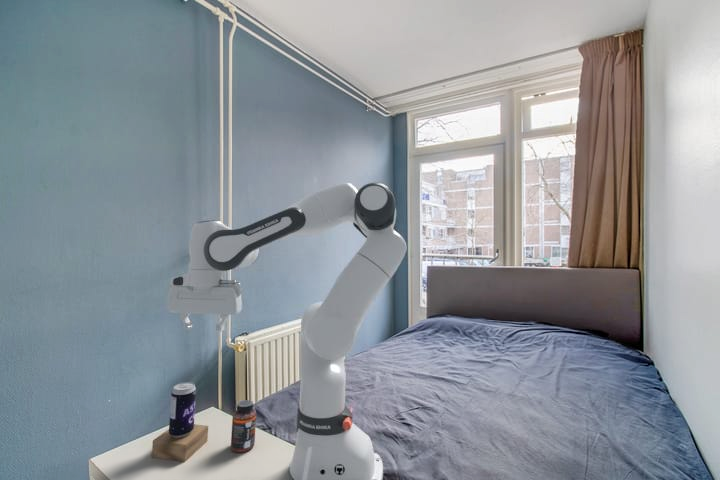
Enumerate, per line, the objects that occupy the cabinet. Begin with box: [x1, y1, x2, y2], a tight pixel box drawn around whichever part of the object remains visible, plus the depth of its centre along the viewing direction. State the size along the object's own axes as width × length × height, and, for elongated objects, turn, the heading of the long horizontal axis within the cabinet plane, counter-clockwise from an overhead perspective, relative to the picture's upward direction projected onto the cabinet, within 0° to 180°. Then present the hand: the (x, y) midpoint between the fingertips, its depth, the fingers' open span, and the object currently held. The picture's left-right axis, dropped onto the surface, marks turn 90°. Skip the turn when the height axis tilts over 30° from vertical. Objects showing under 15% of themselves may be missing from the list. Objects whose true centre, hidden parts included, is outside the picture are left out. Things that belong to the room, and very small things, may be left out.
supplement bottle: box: [230, 399, 257, 453], centre depth 85 cm, size 6×6×11 cm
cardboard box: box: [151, 423, 209, 463], centre depth 83 cm, size 9×9×4 cm
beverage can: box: [168, 381, 197, 438], centre depth 84 cm, size 6×6×12 cm
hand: (204, 330), depth 88 cm, fingers open, 8 cm apart
